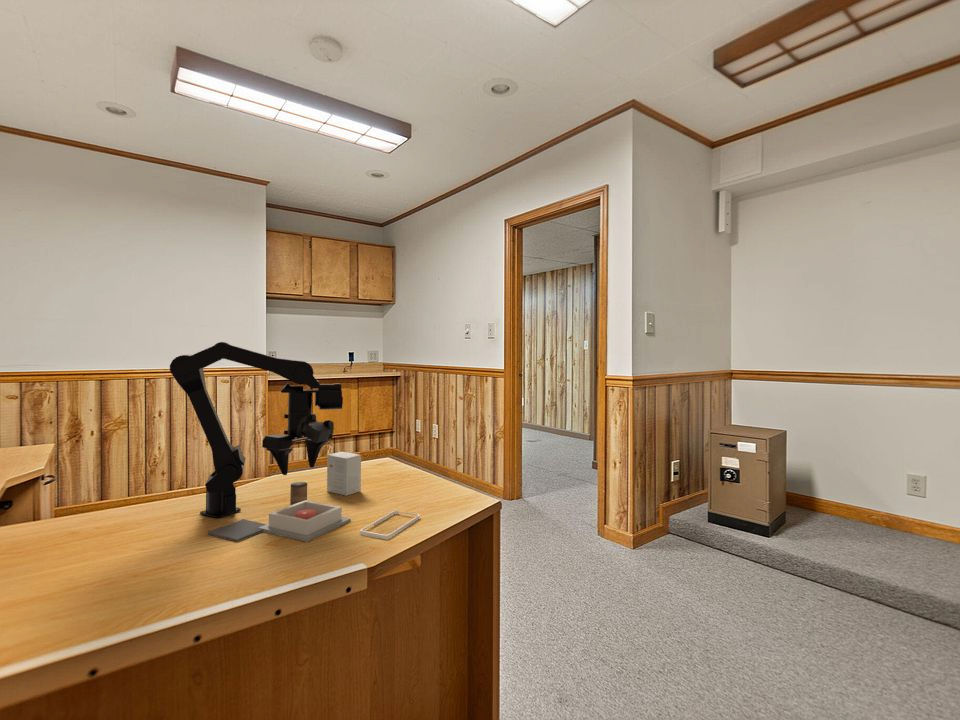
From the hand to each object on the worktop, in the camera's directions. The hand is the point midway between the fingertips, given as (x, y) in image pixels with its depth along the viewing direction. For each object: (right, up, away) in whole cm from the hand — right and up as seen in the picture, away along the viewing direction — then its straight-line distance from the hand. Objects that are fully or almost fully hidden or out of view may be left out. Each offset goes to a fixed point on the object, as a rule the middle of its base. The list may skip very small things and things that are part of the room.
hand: (298, 471), depth 124 cm
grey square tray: (+7, -9, -14) cm, 18 cm away
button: (+7, -8, -14) cm, 17 cm away
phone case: (+26, -10, -12) cm, 31 cm away
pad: (-6, -9, -18) cm, 21 cm away
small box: (+8, -9, +13) cm, 18 cm away
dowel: (0, -9, 0) cm, 9 cm away
